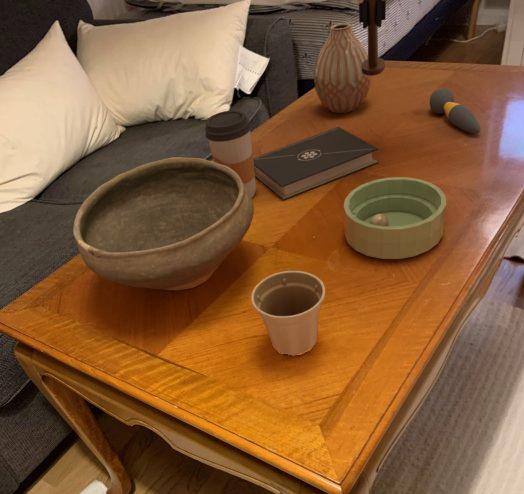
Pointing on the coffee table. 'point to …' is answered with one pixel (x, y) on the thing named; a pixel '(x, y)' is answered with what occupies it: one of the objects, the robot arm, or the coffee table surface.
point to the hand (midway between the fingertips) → (372, 24)
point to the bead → (380, 220)
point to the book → (313, 162)
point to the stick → (372, 43)
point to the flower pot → (290, 309)
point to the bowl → (164, 223)
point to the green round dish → (395, 217)
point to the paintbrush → (454, 111)
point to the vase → (341, 71)
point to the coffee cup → (232, 144)
